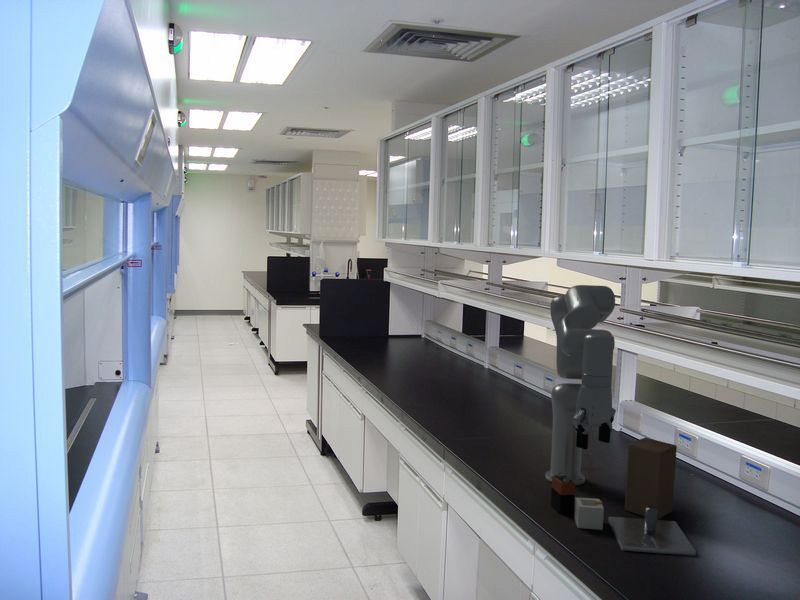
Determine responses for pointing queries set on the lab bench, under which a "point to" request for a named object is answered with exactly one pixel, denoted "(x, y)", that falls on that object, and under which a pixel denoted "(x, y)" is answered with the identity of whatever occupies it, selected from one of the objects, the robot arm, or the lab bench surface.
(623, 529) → the plate
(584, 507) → the gray square frame
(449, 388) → the lab bench surface
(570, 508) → the battery
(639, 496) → the wooden block
